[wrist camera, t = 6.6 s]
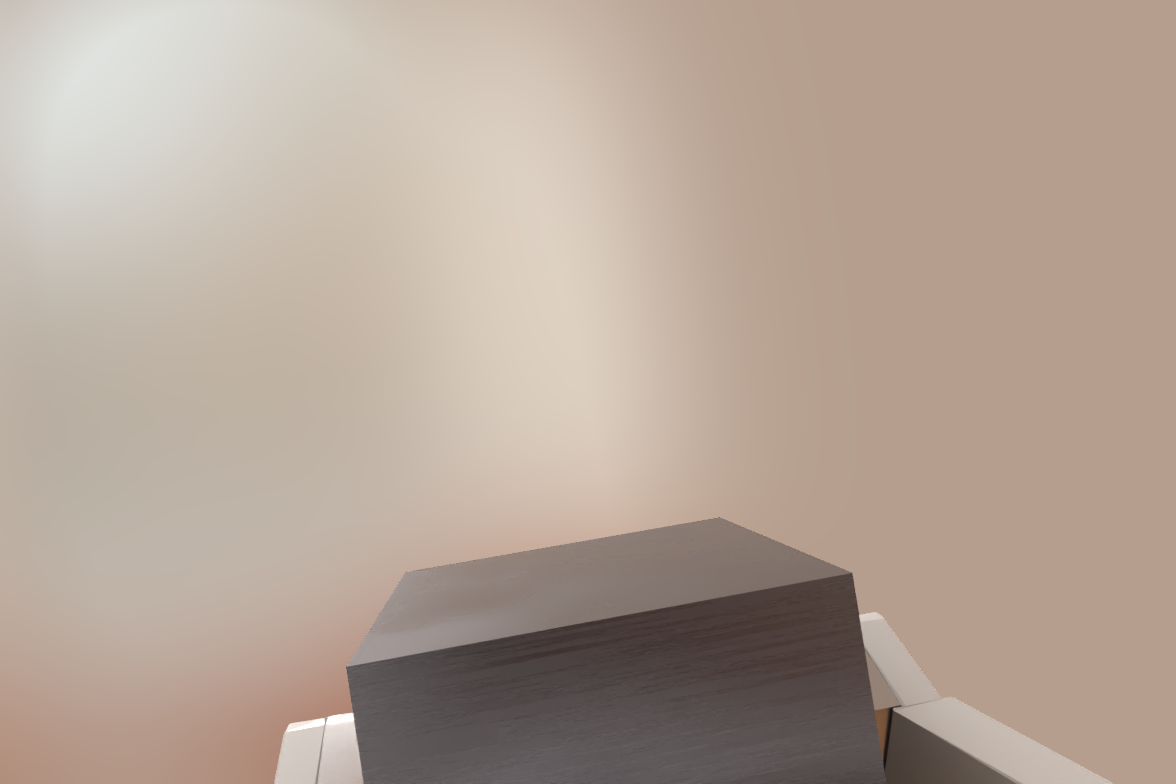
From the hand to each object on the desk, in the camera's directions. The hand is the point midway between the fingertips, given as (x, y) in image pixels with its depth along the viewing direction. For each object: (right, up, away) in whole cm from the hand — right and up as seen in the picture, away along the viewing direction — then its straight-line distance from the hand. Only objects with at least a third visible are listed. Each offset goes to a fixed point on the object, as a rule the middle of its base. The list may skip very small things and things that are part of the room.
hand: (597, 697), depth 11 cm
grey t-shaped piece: (+1, -10, +2) cm, 10 cm away
